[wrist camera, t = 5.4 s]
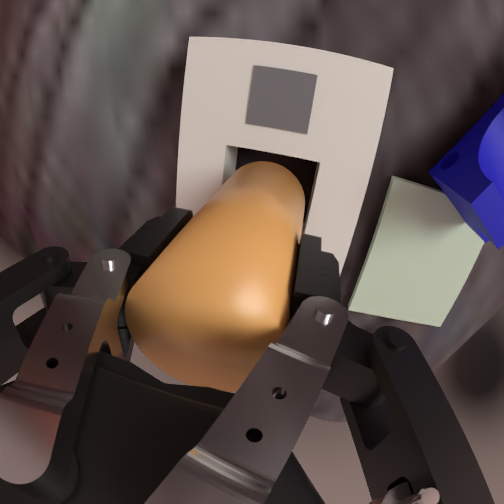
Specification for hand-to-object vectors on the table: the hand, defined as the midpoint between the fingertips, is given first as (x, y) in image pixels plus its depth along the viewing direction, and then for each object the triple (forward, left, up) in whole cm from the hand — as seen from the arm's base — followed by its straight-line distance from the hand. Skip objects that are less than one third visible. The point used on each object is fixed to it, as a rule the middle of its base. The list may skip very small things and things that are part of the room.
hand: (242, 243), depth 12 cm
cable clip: (-7, +14, -8) cm, 18 cm away
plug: (0, 0, -5) cm, 5 cm away
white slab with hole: (0, 0, -8) cm, 8 cm away
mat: (+3, +11, -8) cm, 14 cm away
